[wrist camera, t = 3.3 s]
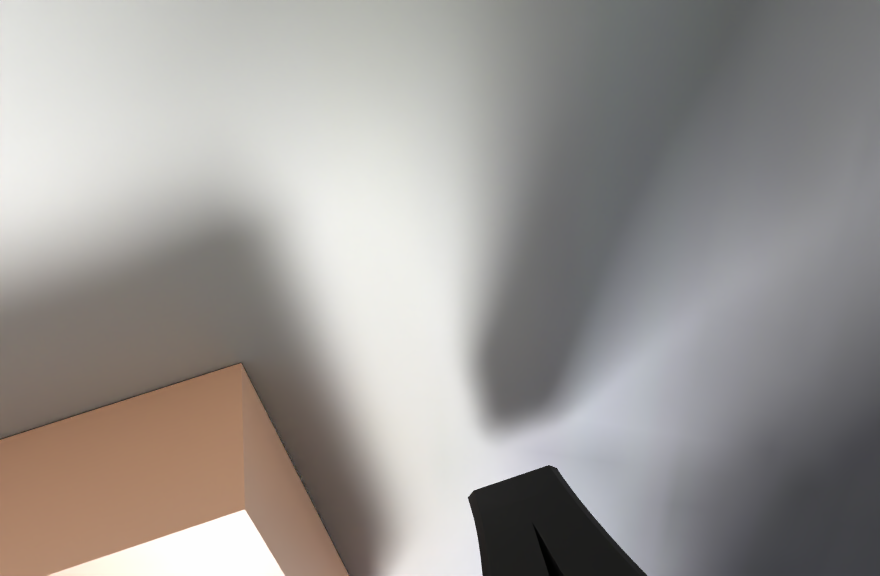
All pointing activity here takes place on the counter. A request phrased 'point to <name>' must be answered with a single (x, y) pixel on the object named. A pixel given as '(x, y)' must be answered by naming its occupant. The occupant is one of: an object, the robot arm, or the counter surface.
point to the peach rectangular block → (161, 491)
